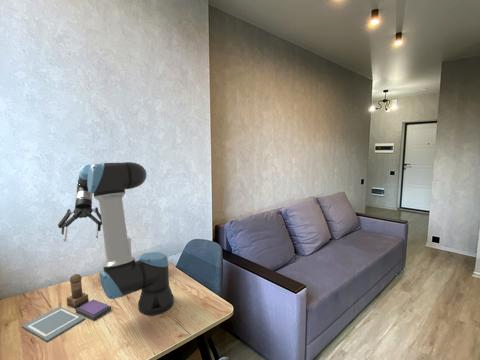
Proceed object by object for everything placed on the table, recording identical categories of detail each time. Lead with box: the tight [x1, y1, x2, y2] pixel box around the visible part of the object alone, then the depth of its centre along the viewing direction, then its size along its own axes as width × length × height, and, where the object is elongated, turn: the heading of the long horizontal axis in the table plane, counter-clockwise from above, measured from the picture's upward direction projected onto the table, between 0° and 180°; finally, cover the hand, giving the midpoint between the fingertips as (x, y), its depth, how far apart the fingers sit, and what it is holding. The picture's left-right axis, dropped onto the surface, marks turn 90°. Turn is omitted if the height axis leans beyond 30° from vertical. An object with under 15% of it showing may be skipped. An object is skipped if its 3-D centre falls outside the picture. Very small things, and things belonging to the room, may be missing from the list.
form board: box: [21, 306, 86, 343], centre depth 104 cm, size 18×14×1 cm
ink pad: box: [75, 299, 112, 322], centre depth 111 cm, size 12×8×2 cm, turn 63°
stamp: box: [66, 273, 90, 310], centre depth 117 cm, size 6×6×14 cm
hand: (81, 238), depth 126 cm, fingers open, 13 cm apart
